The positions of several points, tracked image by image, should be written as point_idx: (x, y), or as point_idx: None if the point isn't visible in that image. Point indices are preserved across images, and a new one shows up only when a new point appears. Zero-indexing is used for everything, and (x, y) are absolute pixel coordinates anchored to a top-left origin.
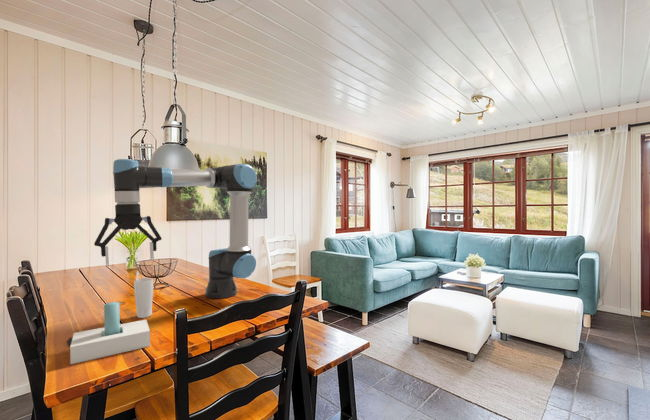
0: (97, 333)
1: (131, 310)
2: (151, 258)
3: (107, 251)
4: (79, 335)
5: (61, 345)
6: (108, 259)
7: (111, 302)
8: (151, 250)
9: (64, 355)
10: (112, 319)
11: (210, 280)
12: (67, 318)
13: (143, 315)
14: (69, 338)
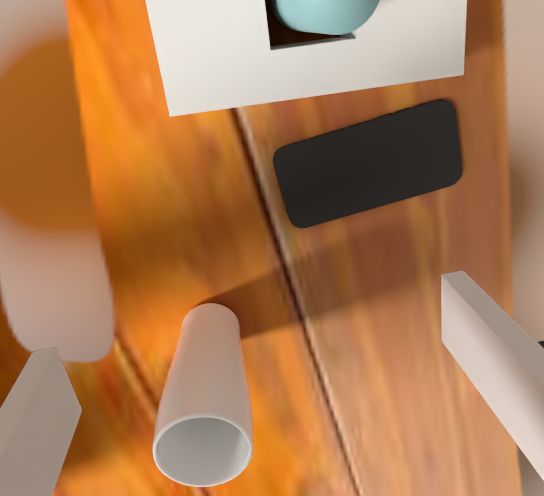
0: None
1: (267, 408)
2: (46, 365)
3: (537, 371)
4: (442, 21)
5: (477, 129)
6: (474, 310)
7: (343, 29)
8: (4, 438)
9: None
10: None
11: None
12: (470, 404)
13: (211, 306)
14: (457, 179)
